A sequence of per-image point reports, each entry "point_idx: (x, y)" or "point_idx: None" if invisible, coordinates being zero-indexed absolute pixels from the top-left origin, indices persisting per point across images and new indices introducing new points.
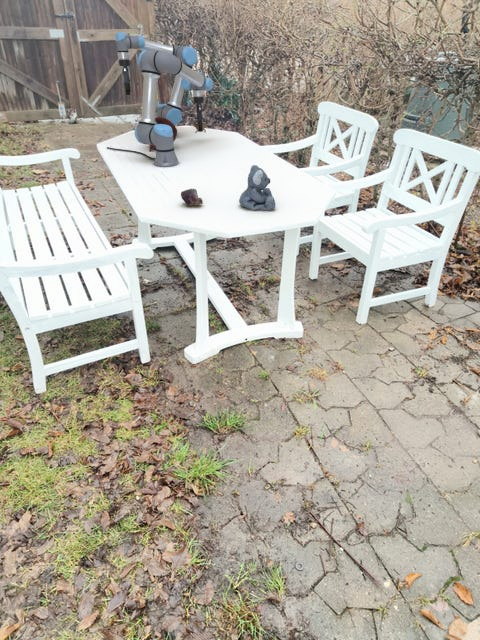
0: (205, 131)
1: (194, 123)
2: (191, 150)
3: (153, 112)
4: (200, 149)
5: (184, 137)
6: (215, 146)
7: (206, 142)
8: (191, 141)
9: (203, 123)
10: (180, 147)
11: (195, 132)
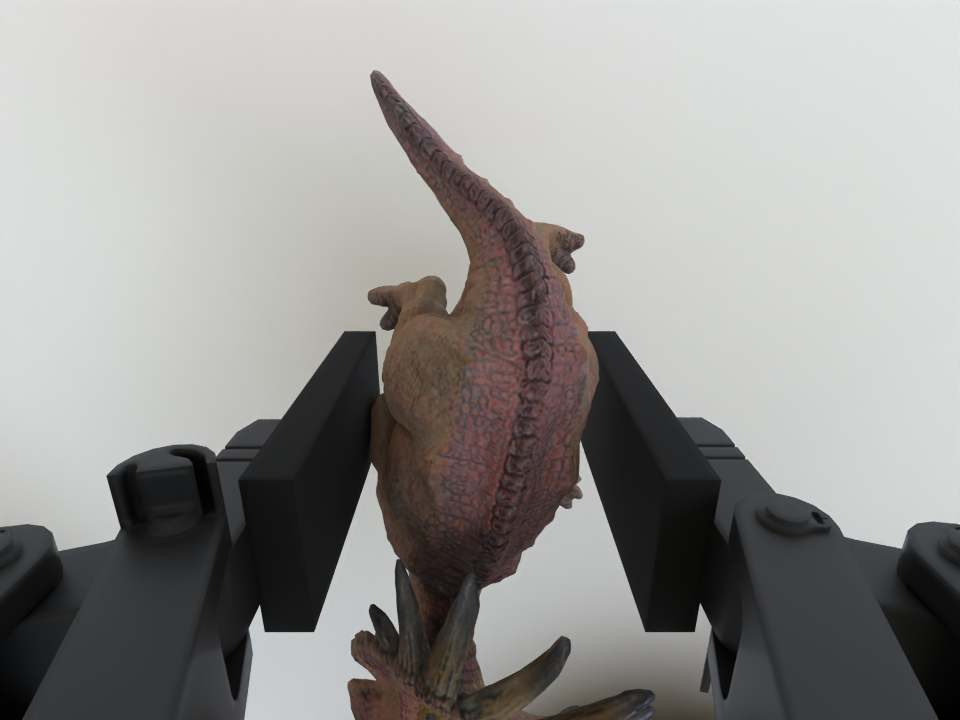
0: (562, 231)
1: (482, 685)
2: (944, 488)
3: None
4: (954, 350)
5: None
6: (868, 20)
7: None
8: None
9: (554, 361)
10: None
11: (564, 499)
